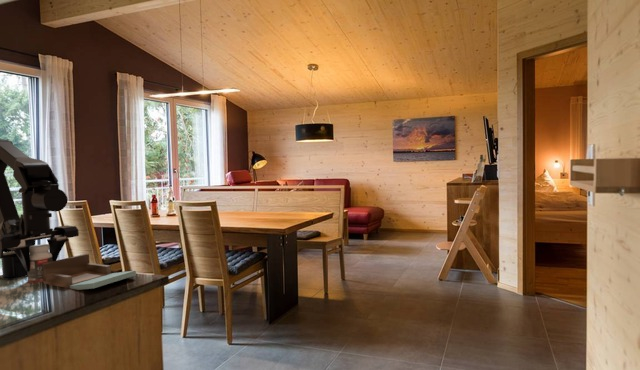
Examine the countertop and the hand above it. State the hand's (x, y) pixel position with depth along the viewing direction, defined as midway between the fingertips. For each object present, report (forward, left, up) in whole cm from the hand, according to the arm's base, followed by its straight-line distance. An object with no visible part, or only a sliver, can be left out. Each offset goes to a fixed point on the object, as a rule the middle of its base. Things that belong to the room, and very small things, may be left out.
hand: (40, 268), depth 113 cm
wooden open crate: (+10, +4, -4) cm, 11 cm away
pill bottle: (0, 0, -4) cm, 4 cm away
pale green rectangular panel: (+15, +4, -3) cm, 16 cm away
